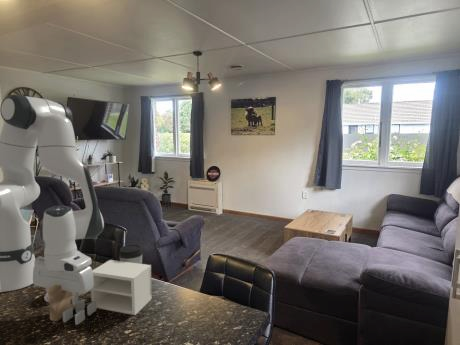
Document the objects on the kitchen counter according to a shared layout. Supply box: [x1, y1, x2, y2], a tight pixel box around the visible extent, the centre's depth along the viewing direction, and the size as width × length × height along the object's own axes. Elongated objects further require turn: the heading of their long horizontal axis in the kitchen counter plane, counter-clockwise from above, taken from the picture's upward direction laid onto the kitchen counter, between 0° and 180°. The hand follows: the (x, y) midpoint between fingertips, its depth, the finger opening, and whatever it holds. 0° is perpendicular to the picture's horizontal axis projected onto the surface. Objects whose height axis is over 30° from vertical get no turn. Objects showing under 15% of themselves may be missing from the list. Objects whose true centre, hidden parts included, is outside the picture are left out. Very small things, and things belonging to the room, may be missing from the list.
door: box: [48, 285, 76, 322], centre depth 94 cm, size 3×8×10 cm, turn 164°
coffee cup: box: [118, 244, 144, 264], centre depth 110 cm, size 8×8×15 cm
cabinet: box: [62, 259, 153, 325], centre depth 95 cm, size 19×19×12 cm
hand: (63, 301), depth 94 cm, fingers open, 6 cm apart
